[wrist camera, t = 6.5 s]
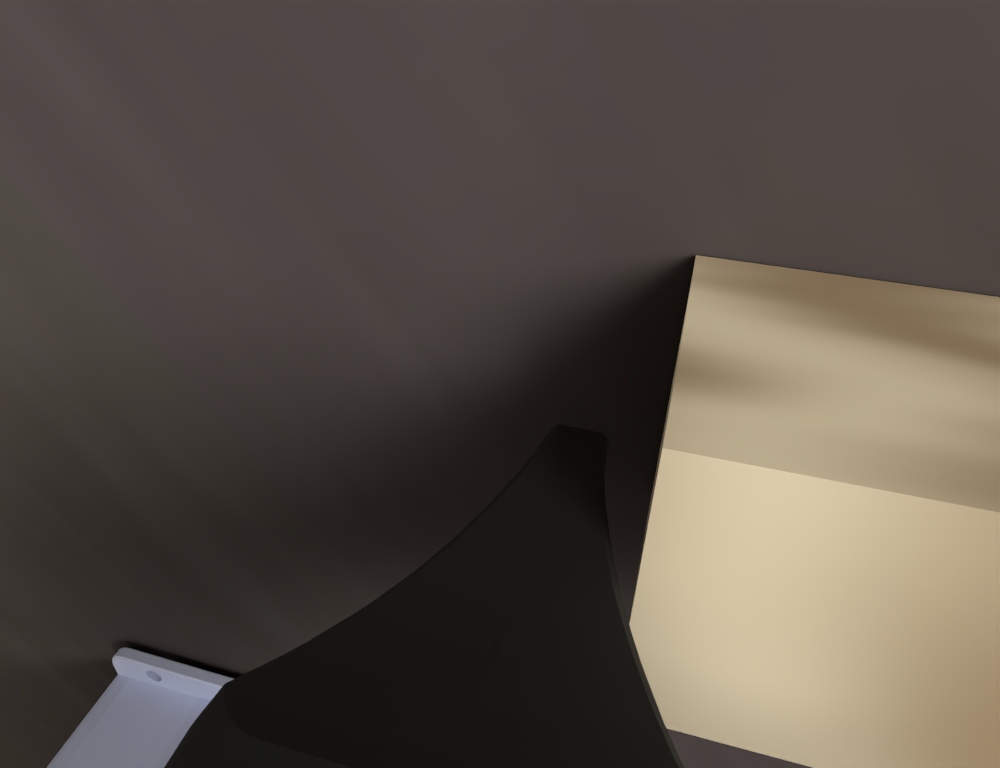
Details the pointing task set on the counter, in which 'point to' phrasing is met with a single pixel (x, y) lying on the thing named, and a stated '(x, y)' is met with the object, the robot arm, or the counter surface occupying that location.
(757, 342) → the block
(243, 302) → the counter surface
